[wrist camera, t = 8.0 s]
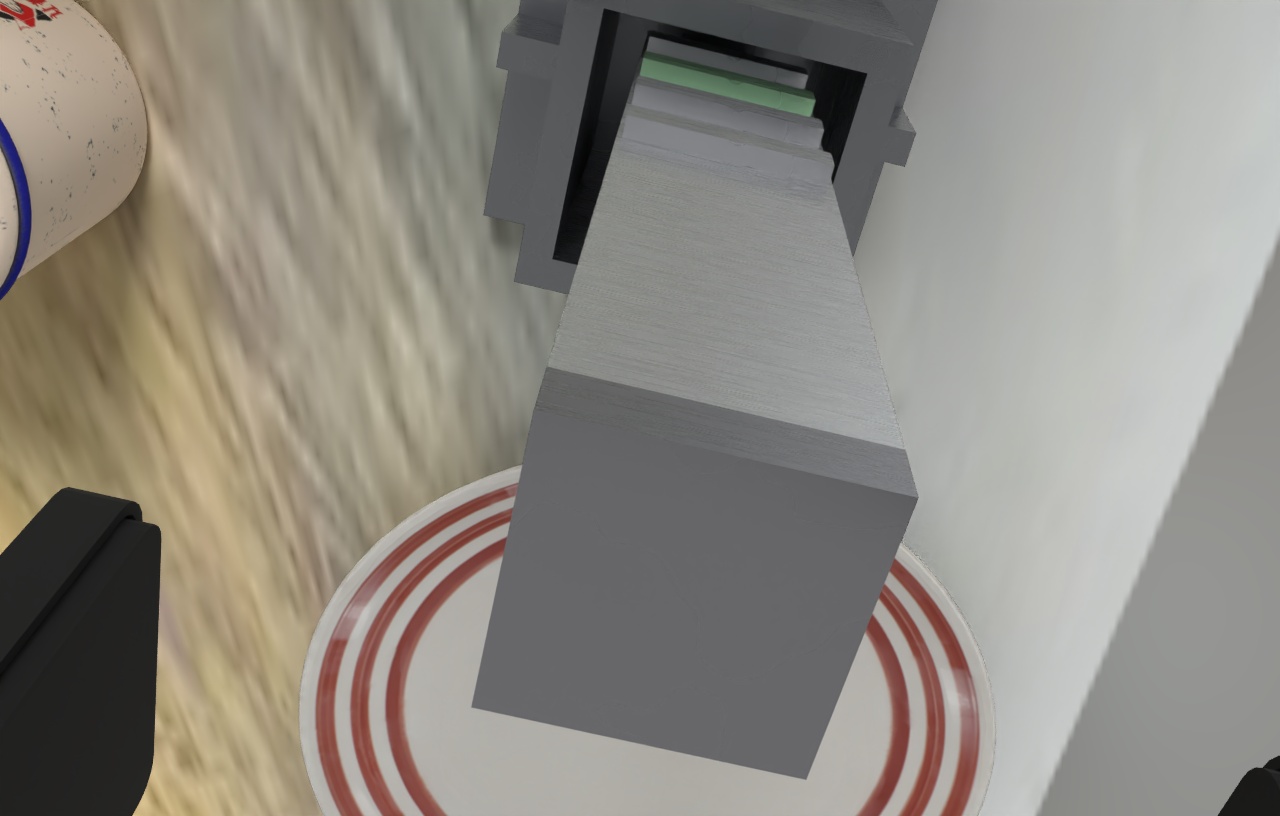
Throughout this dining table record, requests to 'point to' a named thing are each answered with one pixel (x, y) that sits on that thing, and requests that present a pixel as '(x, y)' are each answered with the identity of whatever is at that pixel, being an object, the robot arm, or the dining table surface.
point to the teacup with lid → (61, 130)
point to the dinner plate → (593, 764)
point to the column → (704, 439)
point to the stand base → (604, 72)
